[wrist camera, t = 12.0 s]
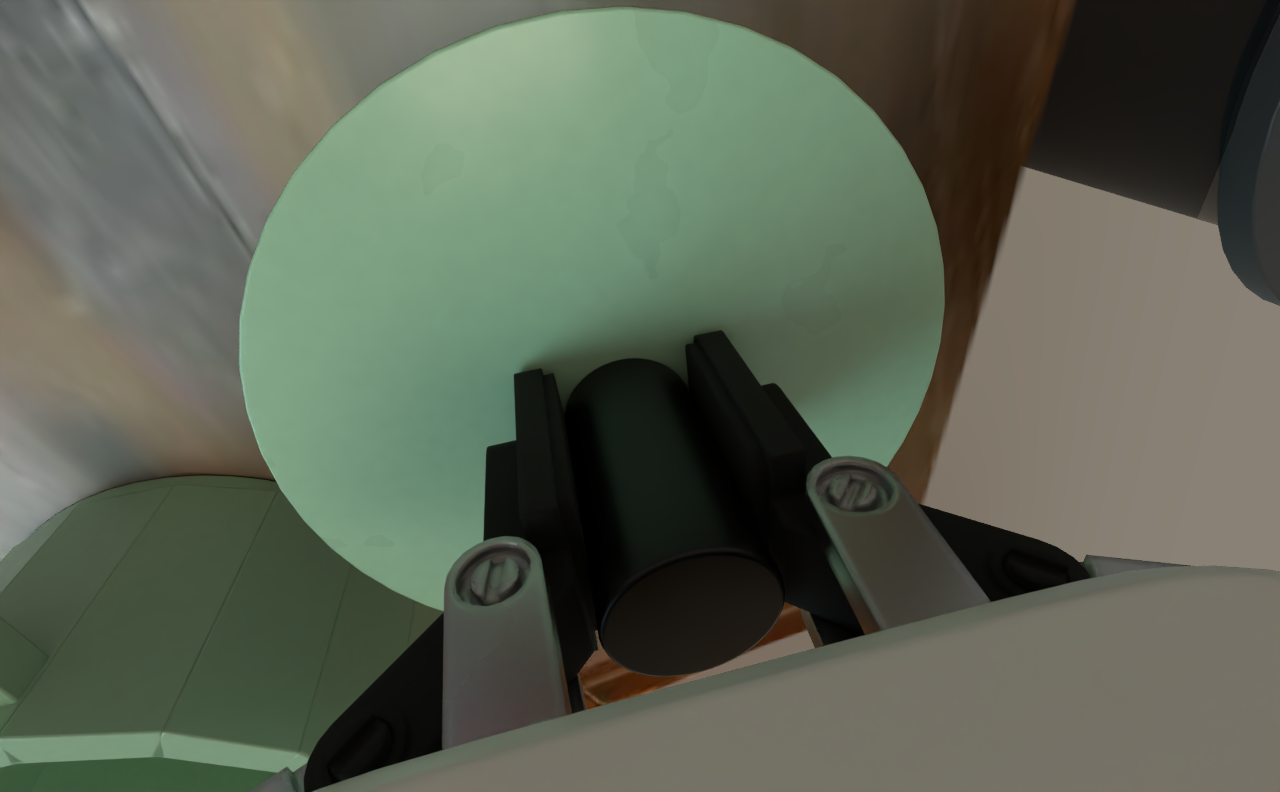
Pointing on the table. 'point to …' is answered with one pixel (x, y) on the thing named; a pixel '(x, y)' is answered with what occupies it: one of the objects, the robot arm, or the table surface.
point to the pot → (183, 640)
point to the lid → (588, 304)
